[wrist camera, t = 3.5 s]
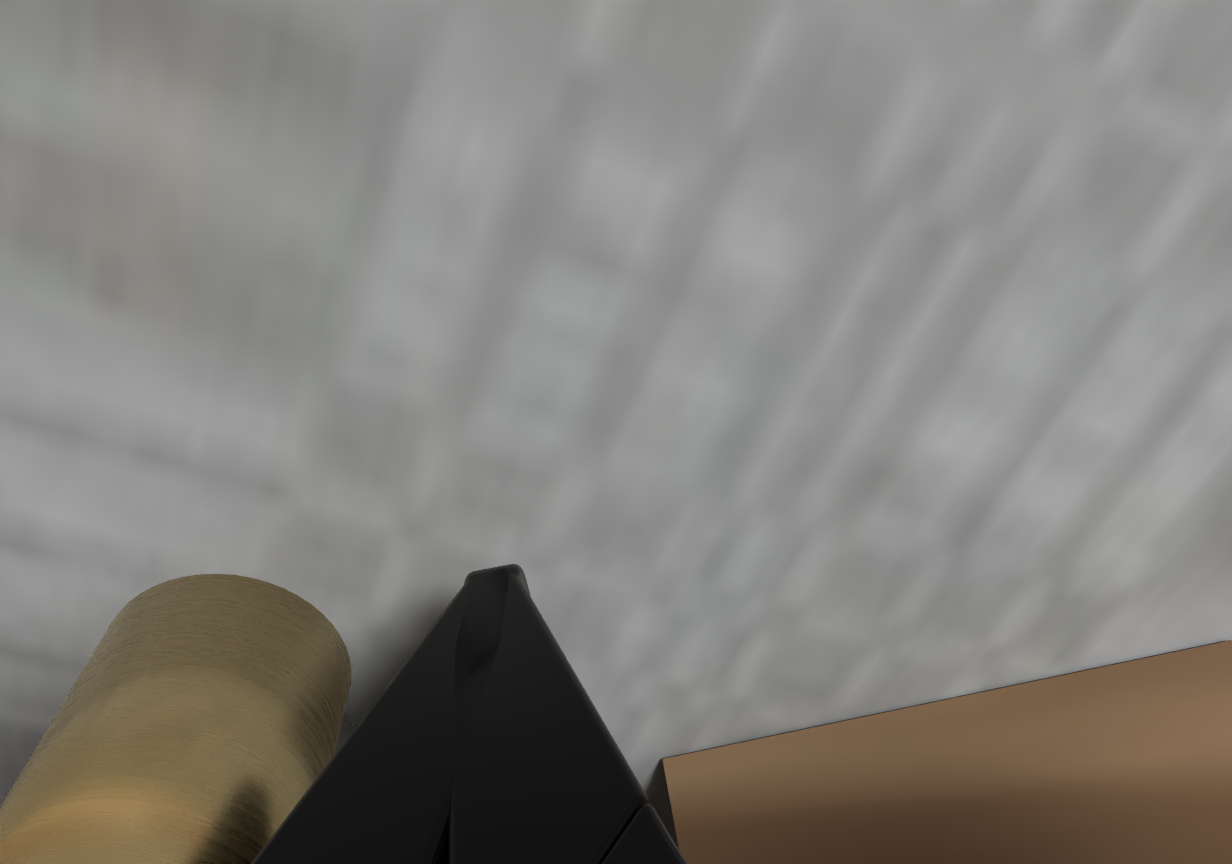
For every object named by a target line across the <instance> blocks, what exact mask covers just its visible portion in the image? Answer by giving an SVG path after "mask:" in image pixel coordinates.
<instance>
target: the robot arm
mask: <svg viewBox="0 0 1232 864" xmlns="http://www.w3.org/2000/svg"><path fill="white" fill-rule="evenodd" d="M251 864H688V863H687V861H686V860H685V858H684V857H683V855H682V853H681V852H680V850H679V849H678V847H677V846H676V844H675V842H674V841H673V839H672V837H671V836H670V834H669V832H668V831H667V829H666V827H665V825H664V824H663V822H662V820H661V819H660V817H659V815H658V814H657V812H656V810H655V808H654V807H653V806H652V805H650V804H649V800H648V797H647V796H646V794H645V792H644V791H643V789H642V787H641V785H640V784H639V782H638V780H637V779H636V777H635V775H634V773H633V772H632V770H631V768H630V767H629V765H628V763H627V761H626V760H625V758H624V756H623V755H622V753H621V751H620V749H619V748H618V746H617V744H616V743H615V741H614V739H613V737H612V736H611V734H610V732H609V731H608V729H607V727H606V725H605V724H604V722H603V720H602V719H601V717H600V715H599V713H598V712H597V710H596V708H595V707H594V705H593V703H592V701H591V700H590V698H589V696H588V695H587V693H586V691H585V689H584V688H583V686H582V684H581V683H580V681H579V679H578V677H577V676H576V674H575V672H574V671H573V669H572V667H571V665H570V664H569V662H568V660H567V659H566V657H565V655H564V653H563V652H562V650H561V648H560V647H559V645H558V643H557V641H556V640H555V638H554V636H553V635H552V633H551V631H550V629H549V628H548V626H547V624H546V623H545V621H544V619H543V617H542V616H541V614H540V612H539V611H538V609H537V607H536V605H535V604H534V602H533V600H532V599H531V596H530V592H529V589H528V585H527V581H526V578H525V574H524V572H523V570H522V568H521V567H520V566H519V565H516V564H510V565H504V566H499V567H494V568H489V569H483V570H478V571H473V572H471V573H469V574H468V575H467V577H466V579H465V583H464V586H463V587H462V588H461V590H460V591H459V592H458V594H457V595H456V596H455V598H454V599H453V600H452V602H451V603H450V604H449V605H448V607H447V608H446V609H445V611H444V612H443V613H442V615H441V616H440V617H439V619H438V620H437V621H436V622H435V624H434V625H433V626H432V628H431V629H430V630H429V632H428V633H427V634H426V636H425V637H424V638H423V639H422V641H421V642H420V643H419V645H418V646H417V647H416V649H415V650H414V651H413V653H412V654H411V655H410V656H409V658H408V659H407V660H406V662H405V663H404V664H403V666H402V667H401V668H400V670H399V671H398V672H397V673H396V675H395V676H394V677H393V679H392V680H391V681H390V683H389V684H388V685H387V687H386V688H385V689H384V690H383V692H382V693H381V694H380V696H379V697H378V698H377V700H376V701H375V702H374V704H373V705H372V706H371V707H370V709H369V710H368V711H367V713H366V714H365V715H364V717H363V718H362V719H361V721H360V722H359V723H358V724H357V726H356V727H355V728H354V730H353V731H352V732H351V734H350V735H349V736H348V738H347V739H346V740H345V741H344V743H343V744H342V745H341V747H340V748H339V749H338V751H337V752H336V753H335V755H334V756H333V757H332V758H331V760H330V761H329V762H328V764H327V765H326V766H325V768H324V769H323V770H322V772H321V773H320V774H319V775H318V777H317V778H316V779H315V781H314V782H313V783H312V785H311V786H310V787H309V789H308V790H307V791H306V792H305V794H304V795H303V796H302V798H301V799H300V800H299V802H298V803H297V804H296V806H295V807H294V808H293V809H292V811H291V812H290V813H289V815H288V816H287V817H286V819H285V820H284V821H283V823H282V824H281V825H280V826H279V828H278V829H277V830H276V832H275V833H274V834H273V836H272V837H271V838H270V840H269V841H268V842H267V843H266V845H265V846H264V847H263V849H262V850H261V851H260V853H259V854H258V855H257V857H256V858H255V859H254V860H253V862H252V863H251Z"/></svg>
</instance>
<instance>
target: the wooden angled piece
mask: <svg viewBox="0 0 1232 864" xmlns="http://www.w3.org/2000/svg"><path fill="white" fill-rule="evenodd" d="M662 760H663V765H664V771H665V776H666V781H667V787H668V792H669V798H670V803H671V808H672V814H673V819H674V825H675V830H676V835H677V841H678V846H679V850H680V852H681V853H682V855H683V857H684V858H685V860H686V861H687V863H688V864H1232V641H1231V640H1229V641H1224V642H1219V643H1215V644H1210V645H1205V646H1200V647H1196V648H1191V649H1186V650H1181V651H1176V652H1172V653H1167V654H1162V655H1157V656H1153V657H1148V658H1143V659H1138V660H1133V661H1129V662H1124V663H1119V664H1114V665H1109V666H1105V667H1100V668H1095V669H1090V670H1086V671H1081V672H1076V673H1071V674H1066V675H1062V676H1057V677H1052V678H1047V679H1042V680H1038V681H1033V682H1028V683H1023V684H1019V685H1014V686H1009V687H1004V688H999V689H995V690H990V691H985V692H980V693H976V694H971V695H966V696H961V697H956V698H952V699H947V700H942V701H937V702H932V703H928V704H923V705H918V706H913V707H909V708H904V709H899V710H894V711H889V712H885V713H880V714H875V715H870V716H866V717H861V718H856V719H851V720H846V721H842V722H837V723H832V724H827V725H822V726H818V727H813V728H808V729H803V730H799V731H794V732H789V733H784V734H779V735H775V736H770V737H765V738H760V739H756V740H751V741H746V742H741V743H736V744H732V745H727V746H722V747H717V748H712V749H708V750H703V751H698V752H693V753H689V754H684V755H679V756H674V757H669V758H665V759H662Z"/></svg>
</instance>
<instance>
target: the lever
mask: <svg viewBox="0 0 1232 864" xmlns="http://www.w3.org/2000/svg"><path fill="white" fill-rule="evenodd" d="M350 685H351V664H350V658H349V655H348V652H347V648H346V646H345V644H344V642H343V640H342V638H341V636H340V634H339V633H338V632H337V630H336V629H335V627H334V626H333V625H332V623H331V622H330V621H329V620H328V619H327V618H326V617H325V616H324V615H323V614H322V613H321V612H320V611H319V610H317V609H316V608H315V607H314V606H313V605H311V604H310V603H308V602H307V601H305V600H304V599H302V598H301V597H299V596H298V595H296V594H294V593H292V592H290V591H288V590H286V589H284V588H281V587H279V586H276V585H273V584H271V583H268V582H265V581H261V580H257V579H253V578H249V577H243V576H237V575H225V574H204V575H194V576H187V577H181V578H178V579H174V580H170V581H167V582H164V583H162V584H159V585H156V586H154V587H152V588H150V589H148V590H146V591H144V592H143V593H141V594H139V595H138V596H137V597H135V598H134V599H133V600H131V601H130V602H129V603H128V604H127V605H126V606H125V607H124V608H123V609H122V610H121V611H120V612H119V613H118V614H117V616H116V617H115V619H114V620H113V622H112V623H111V625H110V626H109V628H108V630H107V631H106V633H105V635H104V636H103V638H102V640H101V641H100V643H99V644H98V646H97V648H96V649H95V651H94V653H93V654H92V656H91V658H90V659H89V661H88V663H87V664H86V666H85V668H84V669H83V671H82V673H81V674H80V676H79V678H78V679H77V681H76V683H75V684H74V686H73V688H72V689H71V691H70V693H69V694H68V696H67V698H66V699H65V701H64V702H63V704H62V706H61V707H60V709H59V711H58V712H57V714H56V716H55V717H54V719H53V721H52V722H51V724H50V726H49V727H48V729H47V731H46V732H45V734H44V736H43V737H42V739H41V741H40V742H39V744H38V746H37V747H36V749H35V751H34V752H33V754H32V755H31V757H30V759H29V760H28V762H27V764H26V765H25V767H24V769H23V770H22V772H21V774H20V775H19V777H18V779H17V780H16V782H15V784H14V785H13V787H12V789H11V790H10V792H9V794H8V795H7V797H6V799H5V800H4V802H3V804H2V805H1V807H0V864H251V863H252V862H253V860H254V859H255V858H256V857H257V855H258V854H259V853H260V851H261V850H262V849H263V847H264V846H265V845H266V843H267V842H268V841H269V840H270V838H271V837H272V836H273V834H274V833H275V832H276V830H277V829H278V828H279V826H280V825H281V824H282V823H283V821H284V820H285V819H286V817H287V816H288V815H289V813H290V812H291V811H292V809H293V808H294V807H295V806H296V804H297V803H298V802H299V800H300V799H301V798H302V796H303V795H304V794H305V792H306V791H307V790H308V789H309V787H310V786H311V785H312V783H313V782H314V781H315V779H316V778H317V777H318V775H319V774H320V773H321V772H322V770H323V769H324V768H325V766H326V765H327V764H328V762H329V761H330V760H331V758H332V757H333V756H334V755H335V753H336V752H337V751H338V749H339V748H340V747H341V745H342V744H343V743H344V741H345V740H346V739H347V738H348V736H349V735H350V734H351V732H352V731H353V730H354V726H353V725H352V723H351V721H350V720H349V718H348V717H347V715H346V714H345V707H346V703H347V698H348V694H349V689H350Z"/></svg>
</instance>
